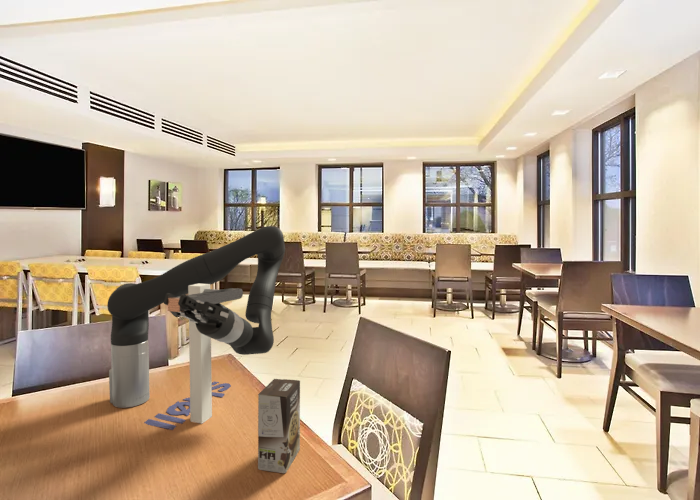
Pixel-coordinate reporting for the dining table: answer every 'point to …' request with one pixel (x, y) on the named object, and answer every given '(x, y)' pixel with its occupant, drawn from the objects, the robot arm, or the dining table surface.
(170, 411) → the signage
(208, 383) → the stand
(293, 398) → the coffee box
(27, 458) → the dining table surface
